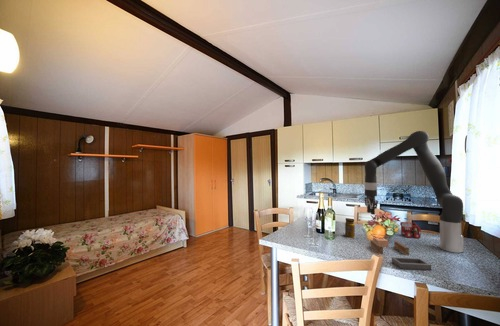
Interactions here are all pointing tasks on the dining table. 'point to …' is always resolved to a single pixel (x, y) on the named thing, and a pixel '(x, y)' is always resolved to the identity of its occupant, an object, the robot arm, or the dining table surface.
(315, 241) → the dining table surface
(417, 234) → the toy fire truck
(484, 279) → the dining table surface
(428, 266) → the tray
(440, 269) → the dining table surface
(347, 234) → the condiment
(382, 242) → the block
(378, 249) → the channel
